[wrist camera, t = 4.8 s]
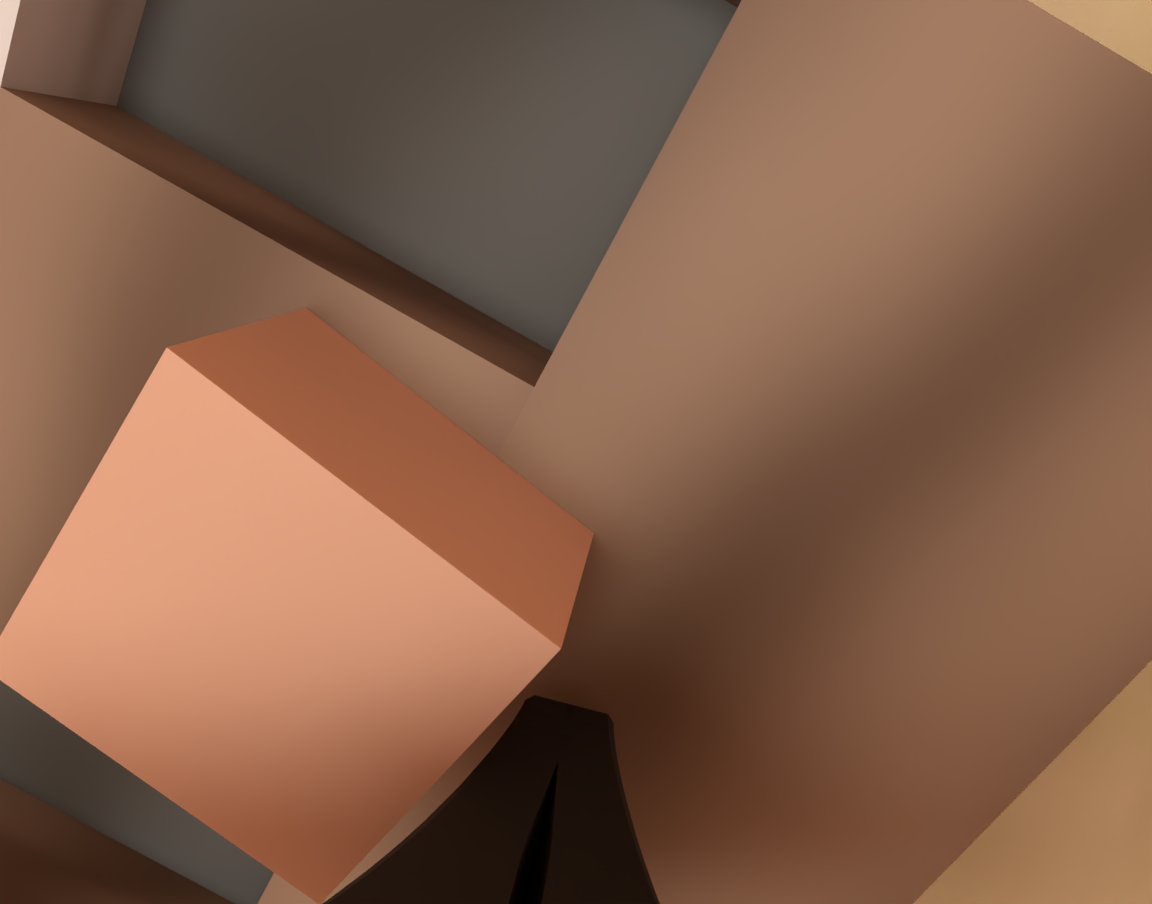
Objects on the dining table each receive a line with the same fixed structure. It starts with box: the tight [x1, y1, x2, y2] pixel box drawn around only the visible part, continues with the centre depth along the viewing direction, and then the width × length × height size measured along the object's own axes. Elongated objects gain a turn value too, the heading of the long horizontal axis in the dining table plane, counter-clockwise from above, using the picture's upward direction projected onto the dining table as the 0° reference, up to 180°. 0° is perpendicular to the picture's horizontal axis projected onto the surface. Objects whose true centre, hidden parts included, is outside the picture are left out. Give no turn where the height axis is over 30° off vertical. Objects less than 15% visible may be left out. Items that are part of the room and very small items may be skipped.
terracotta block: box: [0, 308, 594, 904], centre depth 10 cm, size 5×5×3 cm
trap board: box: [0, 0, 1152, 904], centre depth 12 cm, size 24×22×4 cm
